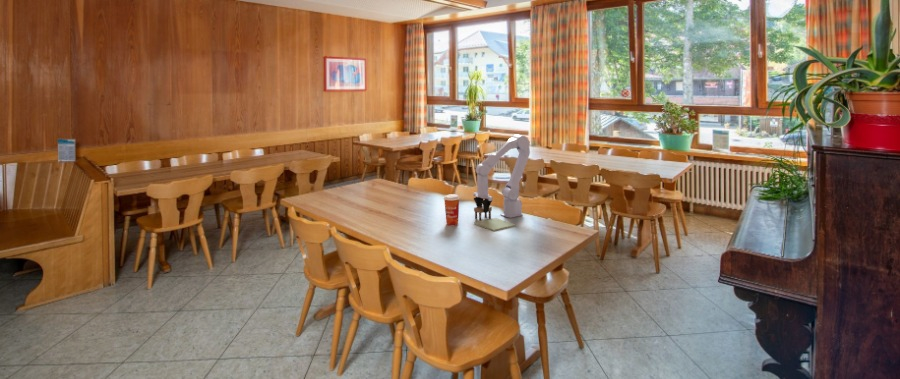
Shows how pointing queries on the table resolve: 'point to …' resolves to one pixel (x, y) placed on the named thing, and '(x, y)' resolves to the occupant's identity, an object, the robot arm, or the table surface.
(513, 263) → the table surface
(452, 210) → the coffee cup
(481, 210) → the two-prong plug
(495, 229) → the mat
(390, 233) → the table surface
